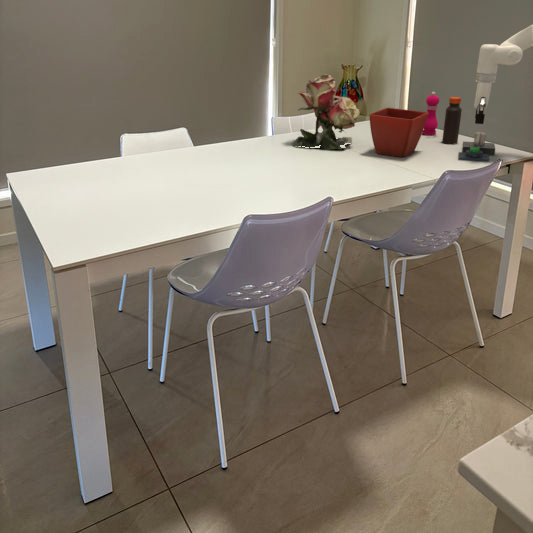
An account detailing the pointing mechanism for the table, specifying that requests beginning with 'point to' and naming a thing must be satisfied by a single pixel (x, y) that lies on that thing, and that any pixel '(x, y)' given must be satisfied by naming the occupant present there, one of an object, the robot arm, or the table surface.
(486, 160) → the housing
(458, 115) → the bottle
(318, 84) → the rose bouquet
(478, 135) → the program dial
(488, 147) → the dial panel
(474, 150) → the start button
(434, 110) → the pepper mill
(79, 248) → the table surface
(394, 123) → the flower pot
